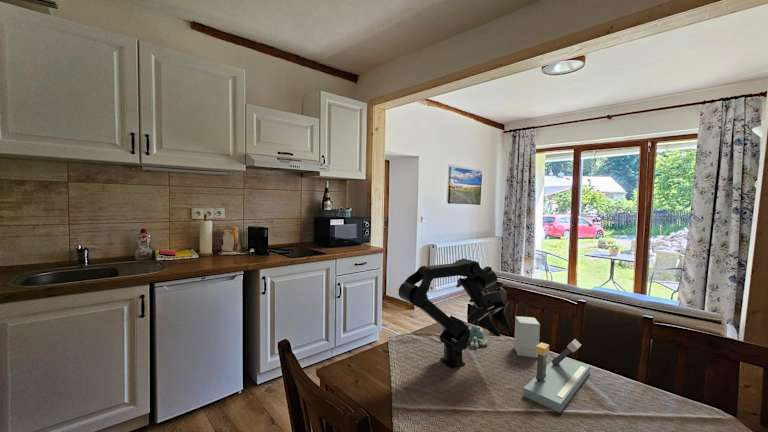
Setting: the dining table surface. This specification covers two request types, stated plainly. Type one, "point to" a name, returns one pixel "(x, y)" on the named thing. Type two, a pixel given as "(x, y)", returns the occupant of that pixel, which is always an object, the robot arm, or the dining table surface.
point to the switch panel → (557, 384)
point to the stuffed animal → (477, 337)
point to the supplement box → (526, 336)
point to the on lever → (566, 352)
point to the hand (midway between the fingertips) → (504, 332)
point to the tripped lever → (541, 360)
